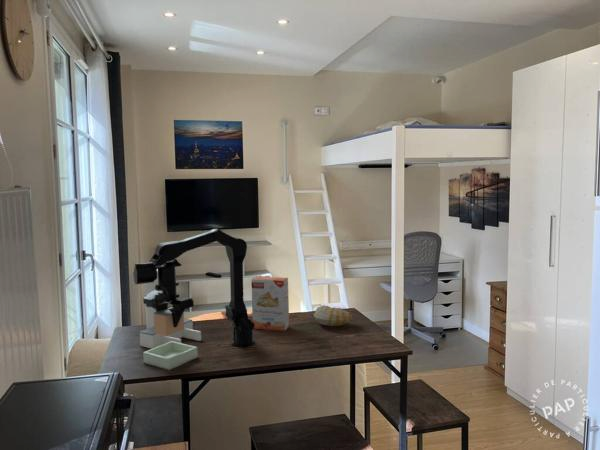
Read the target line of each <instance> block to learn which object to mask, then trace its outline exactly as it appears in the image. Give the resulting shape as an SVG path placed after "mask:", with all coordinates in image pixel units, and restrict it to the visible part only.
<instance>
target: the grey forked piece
mask: <svg viewBox="0 0 600 450" xmlns="http://www.w3.org/2000/svg"><path fill="white" fill-rule="evenodd" d="M193 325H194V324H193V319H190V318H186V317H184V329H183V330H180V331H178V332H175V333H172V334H170V335H167V336H165V335H161V334H156V333H155V329H154V327H151V328H148V329H147V328H146V329H143V330H140V331H139V332H138V333H139V346H140V347H145V348H147V349H153V348H155V347H158V346H160V345H163V344H165V343H168V342H171V341H174V342H178V343H182V338H186V339H188V340H193V341H198V342H201V341H202V331H201V330H196V329H193V328H194V326H193Z"/></svg>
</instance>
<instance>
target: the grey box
mask: <svg viewBox="0 0 600 450" xmlns="http://www.w3.org/2000/svg"><path fill="white" fill-rule="evenodd" d="M171 308H173V307H172V306H171V307H168V308H167V309H164V310H161V311H157V312H154V329H155V333H156V334H161V335H165V336H167V335H170V334H172V333H175V332H178V331H180V330H183V329H184V318H185V317H184V314H185V313H184V312H185V311H184V312H183V314H182V316H181V318H180V321H179V323H178V325H177V327H174V325H173V318H172V312H171V311H170V310H169V309H171Z"/></svg>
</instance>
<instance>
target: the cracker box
mask: <svg viewBox="0 0 600 450" xmlns="http://www.w3.org/2000/svg"><path fill="white" fill-rule="evenodd" d="M289 299H290V298H289V277H281V276H280V277H279V276H277V277H276V276H259V275H258V276H257V275H256V276H255V277H253V278H251V309H252V310H251V311H252V315H251V316H252V322H253V323H254V324H255V325H254V329H253V330H255V329H257V330H267V331H269V330H270V331H279V332H285V331H286V330H288V328H289V327H290V304H289Z"/></svg>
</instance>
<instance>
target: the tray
mask: <svg viewBox="0 0 600 450" xmlns="http://www.w3.org/2000/svg"><path fill="white" fill-rule="evenodd" d="M198 353H199V352H198V346H195V345H190V344H186V343H182V342H181V343H178V342H174V341H171V342H168V343H165V344H163V345H160V346H158V347H155V348H153V349H151V348H149V349H148V350H146V351H143V352H142V355H143V357H142V358H143V363H144V364H147V365H150V366H154V367H156V368H157V367H158V368H161V369H164V370H168V371H171V370H173V369H176V368H177V367H181V366H182V365H184V364H186V363H189V362H191V361H193V360H195V359H197V358H198Z"/></svg>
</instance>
